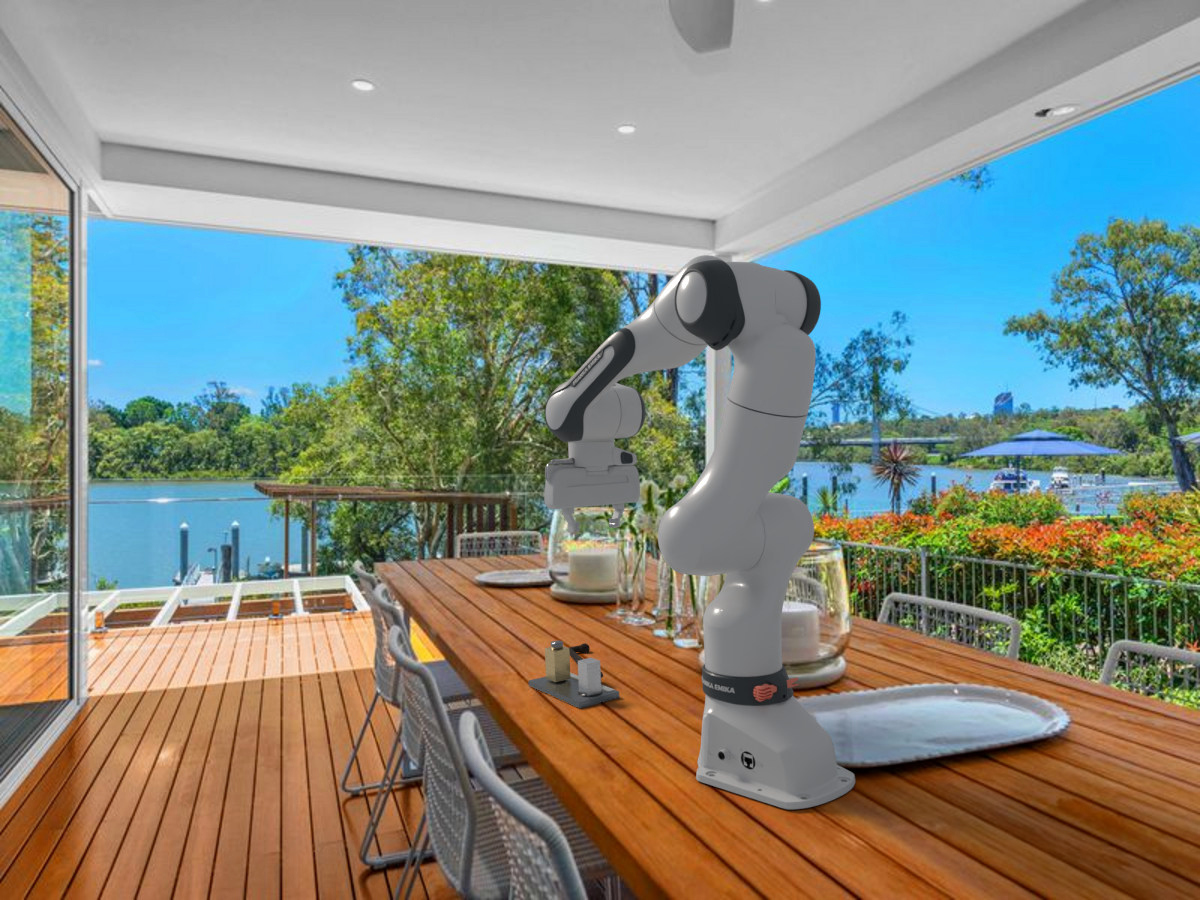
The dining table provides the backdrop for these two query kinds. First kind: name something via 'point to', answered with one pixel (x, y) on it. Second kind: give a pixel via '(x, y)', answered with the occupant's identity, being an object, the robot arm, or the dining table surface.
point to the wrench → (580, 648)
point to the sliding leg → (557, 662)
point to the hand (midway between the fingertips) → (594, 529)
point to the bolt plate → (570, 692)
